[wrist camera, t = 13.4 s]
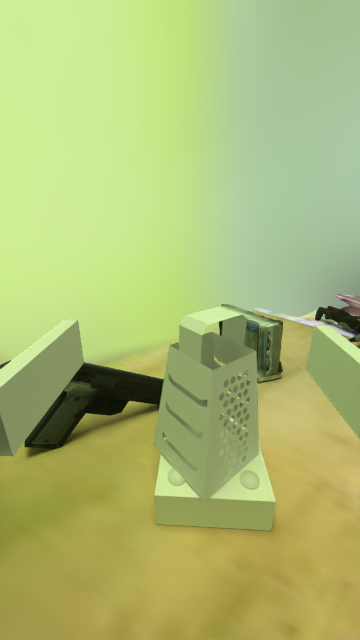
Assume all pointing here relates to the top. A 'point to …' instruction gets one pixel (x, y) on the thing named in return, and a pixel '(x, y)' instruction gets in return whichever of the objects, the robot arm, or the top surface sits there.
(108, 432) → the top surface
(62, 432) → the handgun
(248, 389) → the grater
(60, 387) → the robot arm
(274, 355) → the radio
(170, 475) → the pedestal
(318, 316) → the toy
